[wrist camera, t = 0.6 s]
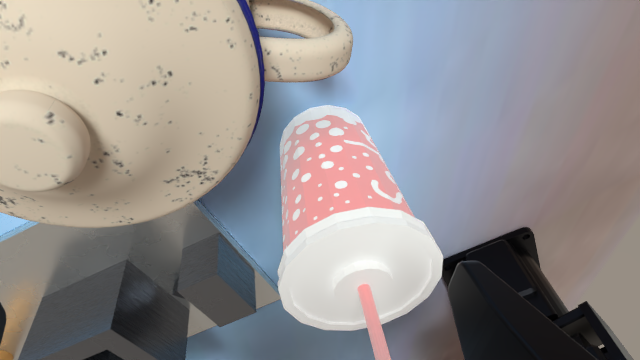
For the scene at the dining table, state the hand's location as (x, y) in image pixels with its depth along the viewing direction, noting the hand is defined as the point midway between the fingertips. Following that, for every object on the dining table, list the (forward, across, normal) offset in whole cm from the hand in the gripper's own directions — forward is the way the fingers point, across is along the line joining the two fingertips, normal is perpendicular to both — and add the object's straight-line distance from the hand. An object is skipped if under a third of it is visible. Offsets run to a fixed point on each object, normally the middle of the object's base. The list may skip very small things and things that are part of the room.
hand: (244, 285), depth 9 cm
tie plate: (+13, +10, +17) cm, 24 cm away
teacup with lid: (+13, +3, -2) cm, 14 cm away
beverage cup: (+13, -4, +6) cm, 15 cm away
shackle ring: (+13, +8, +17) cm, 22 cm away
